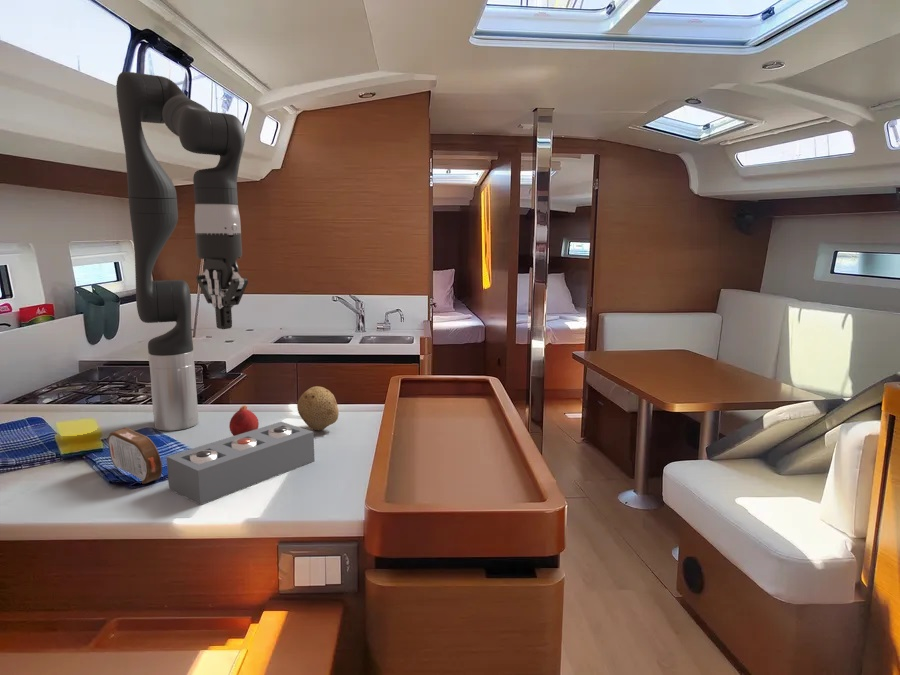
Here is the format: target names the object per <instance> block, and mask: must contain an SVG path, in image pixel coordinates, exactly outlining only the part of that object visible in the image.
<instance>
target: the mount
mask: <svg viewBox="0 0 900 675" xmlns="http://www.w3.org/2000/svg"><path fill="white" fill-rule="evenodd" d="M276 427H289V428H291V429H292V434H290V435H287V436H284V437H281V438H278V439H277V438H274V437H271V436H269V434H268V431H269V430H270V429H272V428H276ZM314 436H315V435H314V430H313V431H312V430H309V429H306V428H304V427H303V428H302V427H299V426H296V425H293V424H290V423H287V422H283V421H278V422H276V423H273V424H269V425H266V426H262V427H260V428H259V427H258V429H255V430H252V431H249V432H245V433H242V434H239V435H236V436H233V435H232V436H230V437H226V438H223V439H219V440H216V441H213V442H209V443H205V444H203V445H199V446H197V447H196V446H195V447H193V448H190V449H187V450H183V451H181V452H178V453H174V454H171V455H166V458H165V459H166V465H167V466H166V467H167V468H166V470H167V480H168V481H167V482H168V489H169V490H170V491H172V492H174V493H176V494H177V495H180V496H182V497H183V498H186V499H188V500H190V501H192V502H193V503H195V504H198V505H200V506H202V505H204V504H208V503H209V502H213V501H214V500H218V499H220V498H223V497H226V496H228V495H230V494H233V493H235V492H238V491H241V490H243V489H246V488H248V487H251V486H253V485H257V484H259V483H261V482H264V481H266V480H269V479H272V478H275V477H276V476H280V475H281V474H285V473H287V472H290V471H292V470H295V469H297V468H301V467H304V466H305V465H307V464H311V463H313V462H315V443H314V442H315V441H314V438H315V437H314ZM241 438H254V439H256V440H257V446H254V447H251V448H248V449H245V450H242V451H239V450H236V449H233V448H232V445H231V443H232V442H233V441H234V440H237V439H241ZM203 450H213V451H216V452H217V455H218V458H217V459H214V460H211V461H208V462H205V463H202V464H199V465H197V464H195V463H192V462H190V455H191V454H193V453H195V452H198V451H203Z"/></svg>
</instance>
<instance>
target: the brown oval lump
mask: <svg viewBox="0 0 900 675" xmlns="http://www.w3.org/2000/svg"><path fill="white" fill-rule="evenodd" d="M296 404H297V405H296V407H297V412H298V414H299V417H300V418H301V419H302V420H303V422H304V423H305V424H306V426H308V427H309V428H310V429H311V430H313V431H323V430H325V429H326V428H327V427H329V426H330V425H334V424H335V423H336V422H337V421H338V419H339V414H340V413H339V407H338V403H337V400H336V397H335V395H334V394H333V393H332V392H331V390H329V389H327V388H325V387H323V386H317V385H316V386H312V387H310V388H308V389H306V390H305V391H304V392H303V393H302V394H301V396H299V398H298V401H297V403H296Z"/></svg>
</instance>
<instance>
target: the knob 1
mask: <svg viewBox="0 0 900 675" xmlns="http://www.w3.org/2000/svg"><path fill="white" fill-rule="evenodd" d="M217 458H218V455H217V452H216V451H213V450H203V451H198V452H195V453H193V454H191V455H190V462H192V463H195V464H197V465H199V464H202V463H205V462H208V461H211V460H214V459H217Z"/></svg>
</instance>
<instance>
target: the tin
mask: <svg viewBox="0 0 900 675" xmlns="http://www.w3.org/2000/svg"><path fill="white" fill-rule="evenodd" d="M107 443H108V450H109V455H110V457H109V458H110V459H111V462H112V464H113V466H114V467H115V466H116V467H119V468H121V469H123V470H125V471H127V472H129V473H131V474H132V475H134V476H136V477H137V478H139V479H141V481H142V485H145V484H149V483H151V482H153V481H157V480H159V479H160V478H161V476H162V472H163V464H162V460H161V456H160V453H159V451H158V450H159V449H158V448H157V446H156V444H155V442H153V440H151V438H149V437H148V436H147V435H144V434H141V433H140V432H137V431H134V430H132V429H130V428H128V427H123V428H121V429H119V430H115V431H111V433H110V434H109V435H108V437H107ZM116 467H115V468H116Z"/></svg>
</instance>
